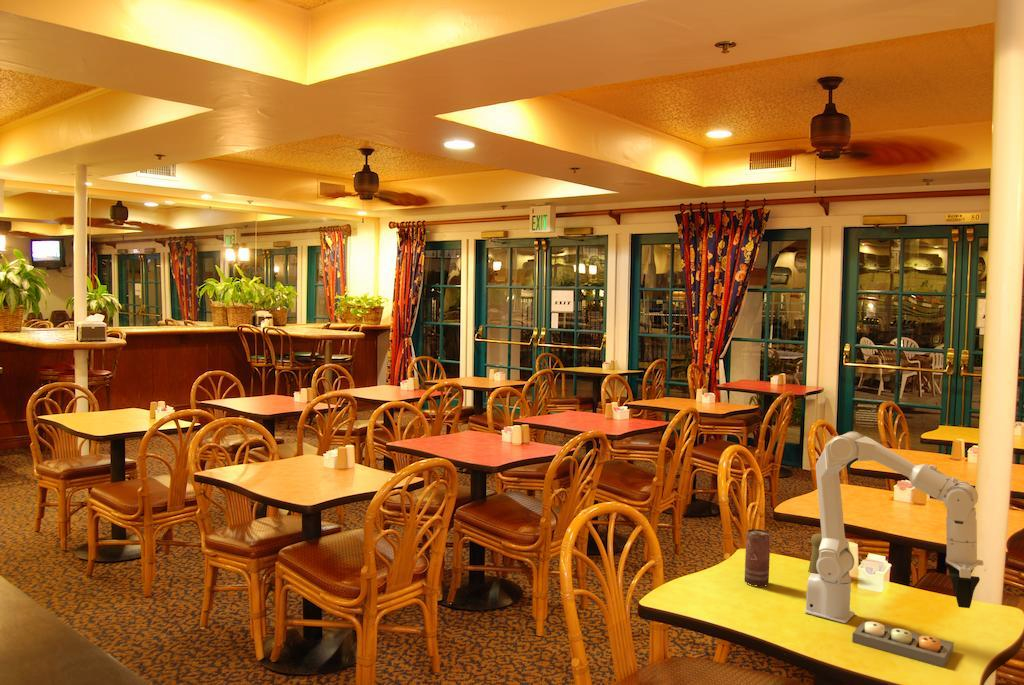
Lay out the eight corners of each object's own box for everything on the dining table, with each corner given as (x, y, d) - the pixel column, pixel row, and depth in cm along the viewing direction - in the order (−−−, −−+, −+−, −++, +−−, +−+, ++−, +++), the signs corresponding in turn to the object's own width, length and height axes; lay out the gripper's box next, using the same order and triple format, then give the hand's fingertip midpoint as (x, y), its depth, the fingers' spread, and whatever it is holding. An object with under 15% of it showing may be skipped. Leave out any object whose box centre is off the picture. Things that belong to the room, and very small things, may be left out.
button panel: (852, 641, 172) (852, 633, 171) (864, 627, 179) (865, 619, 179) (943, 667, 160) (944, 657, 160) (953, 651, 168) (953, 642, 168)
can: (766, 589, 202) (768, 536, 202) (741, 584, 206) (743, 532, 205) (771, 582, 208) (774, 531, 207) (748, 577, 211) (750, 527, 210)
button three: (916, 649, 165) (917, 639, 165) (921, 643, 168) (921, 633, 168) (938, 655, 163) (938, 644, 163) (941, 649, 166) (942, 638, 166)
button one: (862, 634, 172) (862, 624, 172) (867, 629, 175) (867, 619, 175) (881, 640, 170) (882, 629, 169) (886, 634, 173) (886, 624, 173)
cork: (833, 578, 212) (835, 538, 212) (810, 576, 214) (811, 536, 213) (829, 571, 218) (830, 532, 218) (806, 569, 219) (808, 530, 219)
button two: (889, 642, 169) (889, 631, 168) (893, 636, 172) (894, 626, 172) (909, 647, 166) (909, 636, 166) (913, 641, 169) (914, 631, 169)
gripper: (987, 549, 161) (987, 615, 161) (978, 532, 174) (979, 593, 174) (948, 546, 164) (949, 610, 164) (942, 530, 177) (943, 589, 177)
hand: (962, 601), depth 169 cm, fingers open, 7 cm apart
